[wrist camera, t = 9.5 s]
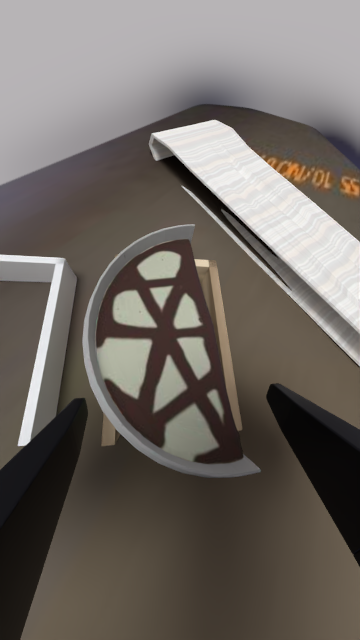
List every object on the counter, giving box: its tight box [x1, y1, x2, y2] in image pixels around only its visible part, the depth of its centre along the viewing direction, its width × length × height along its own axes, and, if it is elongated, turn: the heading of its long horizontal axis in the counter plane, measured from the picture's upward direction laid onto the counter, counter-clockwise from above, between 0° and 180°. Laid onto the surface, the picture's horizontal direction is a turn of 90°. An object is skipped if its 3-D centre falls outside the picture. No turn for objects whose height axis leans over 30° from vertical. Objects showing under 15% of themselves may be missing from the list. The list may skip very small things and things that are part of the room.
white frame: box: [0, 255, 77, 446], centre depth 14 cm, size 8×14×3 cm, turn 3°
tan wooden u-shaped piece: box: [101, 255, 243, 446], centre depth 16 cm, size 10×15×3 cm, turn 3°
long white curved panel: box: [149, 120, 360, 366], centre depth 25 cm, size 12×4×40 cm
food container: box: [83, 224, 261, 478], centre depth 12 cm, size 12×6×10 cm, turn 10°
